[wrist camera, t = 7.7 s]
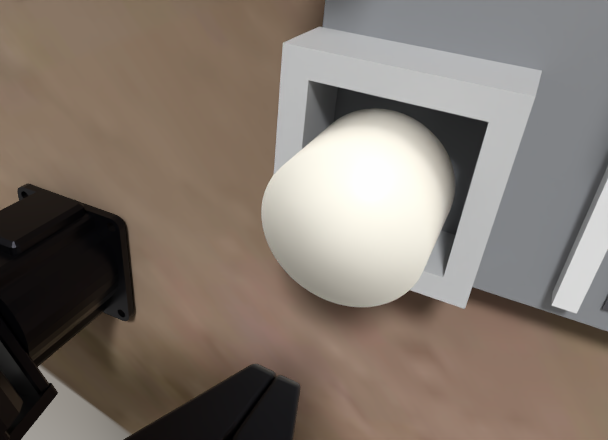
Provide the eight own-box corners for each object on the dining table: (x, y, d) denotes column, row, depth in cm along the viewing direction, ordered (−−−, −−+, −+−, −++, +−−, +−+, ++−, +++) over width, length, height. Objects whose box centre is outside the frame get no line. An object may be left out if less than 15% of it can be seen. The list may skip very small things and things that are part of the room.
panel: (736, 334, 17) (776, 445, 13) (319, 205, 21) (267, 264, 18) (1158, -259, 9) (1502, -360, 6) (379, -271, 14) (309, -334, 10)
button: (436, 263, 15) (408, 330, 13) (305, 221, 16) (257, 274, 14) (473, 129, 13) (448, 179, 10) (319, 92, 14) (266, 130, 12)
